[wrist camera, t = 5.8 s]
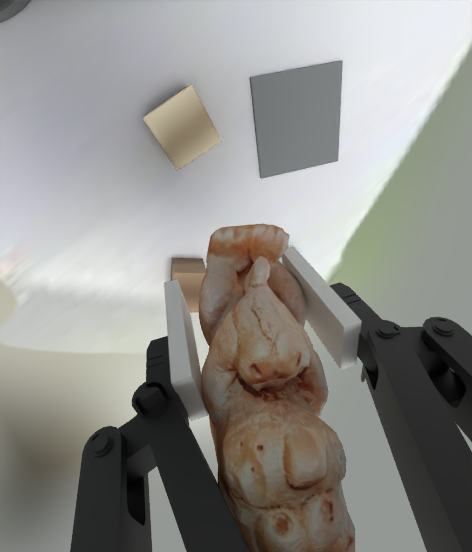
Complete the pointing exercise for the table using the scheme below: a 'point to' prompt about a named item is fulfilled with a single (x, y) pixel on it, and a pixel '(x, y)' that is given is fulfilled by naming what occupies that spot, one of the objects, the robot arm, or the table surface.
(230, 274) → the figurine
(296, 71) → the grey mat
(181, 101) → the beech block
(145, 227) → the table surface
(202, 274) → the walnut block
